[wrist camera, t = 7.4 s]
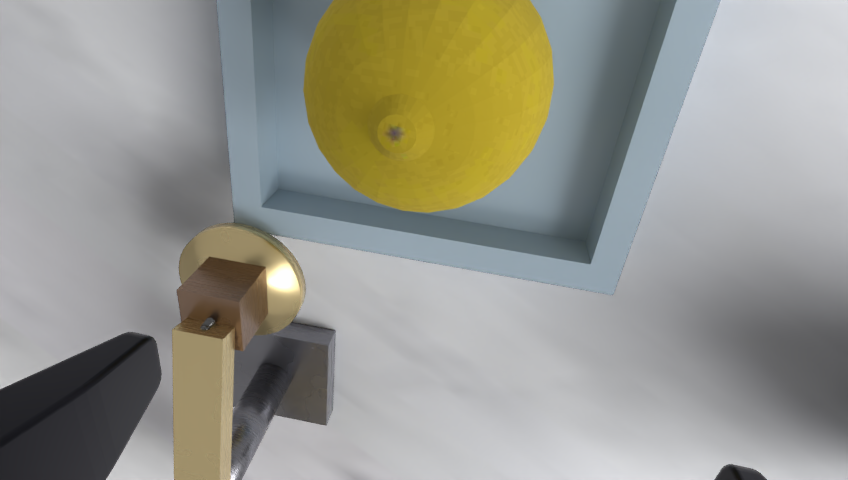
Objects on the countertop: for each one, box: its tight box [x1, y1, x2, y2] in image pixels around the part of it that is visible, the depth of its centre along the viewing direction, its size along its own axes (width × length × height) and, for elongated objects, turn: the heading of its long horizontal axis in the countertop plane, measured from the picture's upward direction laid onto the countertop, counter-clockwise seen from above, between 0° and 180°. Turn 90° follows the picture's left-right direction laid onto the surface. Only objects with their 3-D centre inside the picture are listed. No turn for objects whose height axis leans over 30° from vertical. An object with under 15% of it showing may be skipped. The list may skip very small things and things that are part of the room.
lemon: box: [303, 0, 554, 213], centre depth 12 cm, size 6×6×8 cm
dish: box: [216, 0, 720, 295], centre depth 16 cm, size 13×13×2 cm
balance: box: [172, 223, 335, 480], centre depth 21 cm, size 5×18×9 cm, turn 174°
